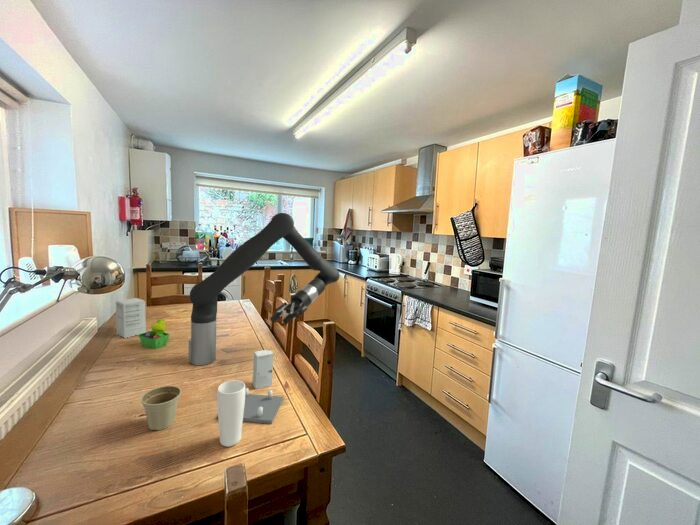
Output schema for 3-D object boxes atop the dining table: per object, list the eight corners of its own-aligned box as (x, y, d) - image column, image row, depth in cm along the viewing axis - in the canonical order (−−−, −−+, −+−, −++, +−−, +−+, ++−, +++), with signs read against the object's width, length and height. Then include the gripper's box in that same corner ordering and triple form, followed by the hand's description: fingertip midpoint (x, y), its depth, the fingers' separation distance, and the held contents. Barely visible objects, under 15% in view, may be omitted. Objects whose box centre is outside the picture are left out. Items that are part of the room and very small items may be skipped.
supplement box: (146, 333, 143) (146, 300, 141) (124, 338, 135) (123, 304, 133) (138, 329, 148) (137, 297, 146) (116, 333, 140) (115, 300, 138)
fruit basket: (137, 345, 128) (136, 321, 127) (156, 339, 137) (156, 316, 135) (154, 351, 124) (153, 325, 123) (173, 344, 132) (173, 320, 131)
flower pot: (189, 418, 83) (189, 389, 82) (158, 439, 74) (157, 408, 73) (165, 409, 86) (165, 382, 85) (132, 429, 77) (132, 399, 76)
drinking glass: (222, 431, 78) (222, 379, 77) (247, 431, 79) (248, 380, 77) (212, 450, 72) (212, 393, 70) (240, 449, 72) (241, 394, 71)
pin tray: (217, 418, 83) (218, 407, 83) (236, 395, 95) (236, 385, 95) (271, 423, 82) (272, 412, 82) (283, 399, 94) (283, 389, 94)
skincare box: (255, 389, 99) (256, 356, 98) (252, 383, 103) (252, 351, 102) (272, 385, 103) (273, 353, 101) (268, 379, 106) (269, 348, 105)
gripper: (291, 289, 124) (263, 312, 113) (312, 289, 115) (283, 315, 104) (298, 303, 127) (271, 327, 116) (320, 304, 117) (293, 331, 106)
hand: (277, 321), depth 110 cm, fingers open, 8 cm apart
